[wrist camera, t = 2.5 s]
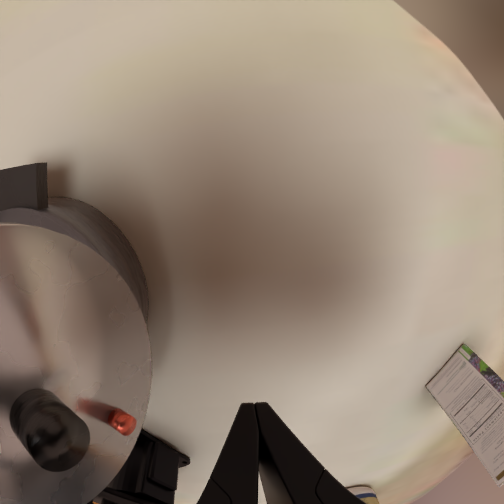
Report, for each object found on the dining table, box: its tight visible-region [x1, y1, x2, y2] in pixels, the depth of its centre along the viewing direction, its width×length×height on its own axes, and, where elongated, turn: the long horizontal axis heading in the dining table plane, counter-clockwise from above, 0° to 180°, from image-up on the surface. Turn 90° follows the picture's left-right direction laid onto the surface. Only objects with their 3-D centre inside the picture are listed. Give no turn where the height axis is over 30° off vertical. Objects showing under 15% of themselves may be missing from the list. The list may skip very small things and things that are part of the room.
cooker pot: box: [0, 163, 148, 324], centre depth 14 cm, size 13×14×4 cm
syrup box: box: [426, 344, 504, 487], centre depth 15 cm, size 6×6×14 cm
